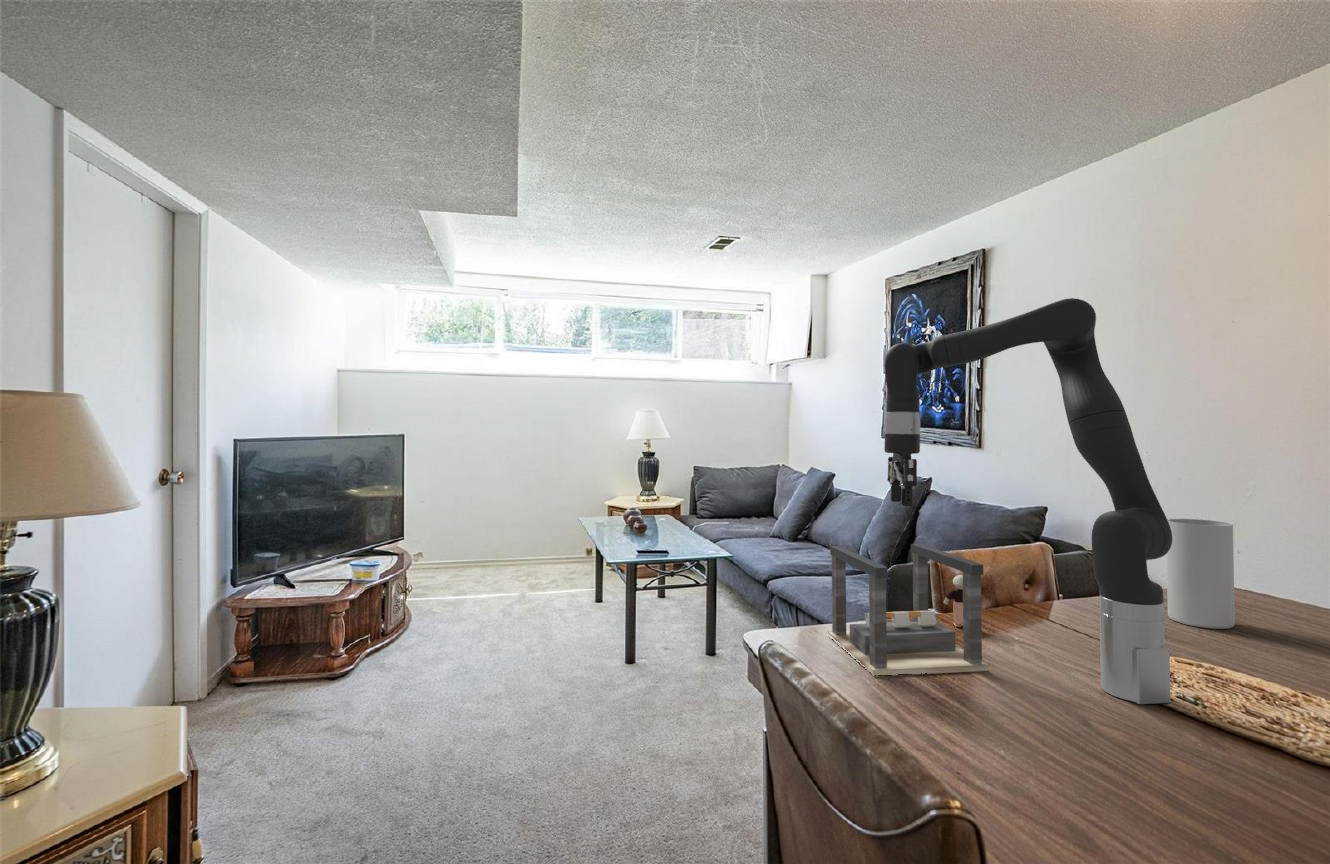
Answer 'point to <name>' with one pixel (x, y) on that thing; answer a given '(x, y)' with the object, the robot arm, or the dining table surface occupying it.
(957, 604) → the grandmother figurine
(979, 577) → the stand
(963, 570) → the bar
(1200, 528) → the cylinder vase
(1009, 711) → the dining table surface
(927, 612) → the breaker paddles
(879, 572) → the bar
